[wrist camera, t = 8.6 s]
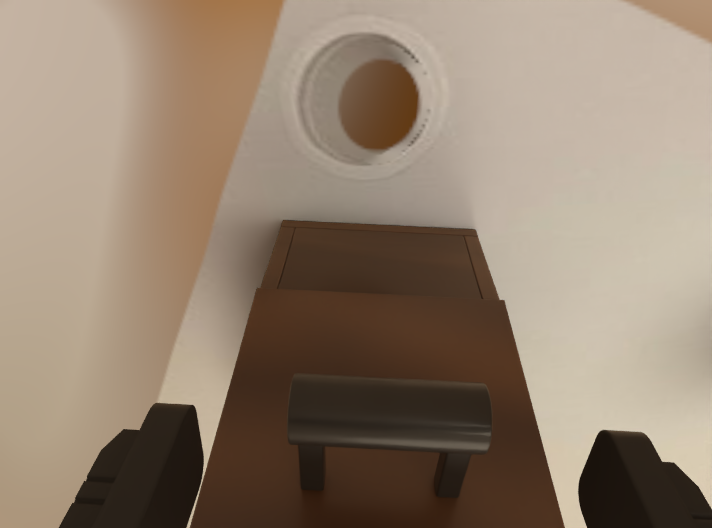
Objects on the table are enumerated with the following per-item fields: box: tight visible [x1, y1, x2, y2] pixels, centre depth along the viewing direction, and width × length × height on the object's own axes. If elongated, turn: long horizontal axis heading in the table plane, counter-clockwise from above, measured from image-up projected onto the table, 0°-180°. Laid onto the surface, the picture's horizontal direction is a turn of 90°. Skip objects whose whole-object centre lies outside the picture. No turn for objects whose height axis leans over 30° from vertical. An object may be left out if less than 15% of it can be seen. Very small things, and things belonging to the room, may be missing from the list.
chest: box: [260, 220, 499, 300], centre depth 29 cm, size 11×11×7 cm
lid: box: [190, 288, 565, 528], centre depth 17 cm, size 11×11×5 cm
